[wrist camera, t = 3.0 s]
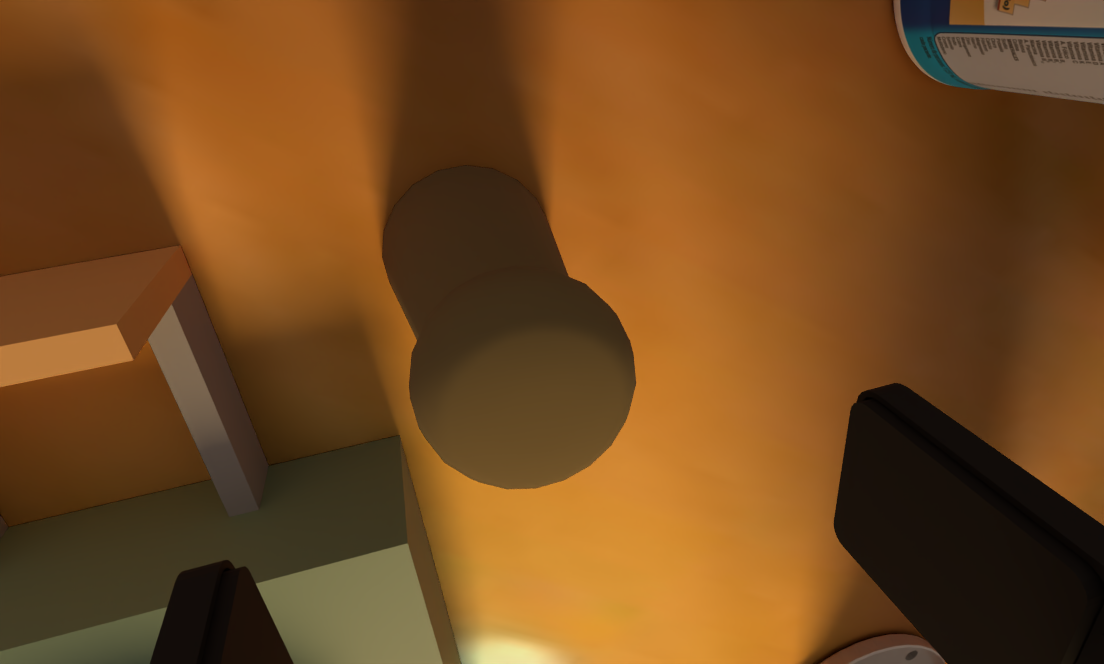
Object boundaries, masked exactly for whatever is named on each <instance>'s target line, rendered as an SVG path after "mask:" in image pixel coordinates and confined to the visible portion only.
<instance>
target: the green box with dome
mask: <svg viewBox="0 0 1104 664" xmlns="http://www.w3.org/2000/svg"><path fill="white" fill-rule="evenodd" d="M147 340H148V341H149V343H150V345H151V348H152V350H153V352H154V354H155V356H156V358H157V361H158V363H159V365H160V367H161V369H162V372H163V374H164V376H165V378H166V380H167V383H168V385H169V387H170V389H171V391H172V393H173V396H174V398H175V400H176V402H177V404H178V407H179V409H180V411H181V413H182V415H183V417H184V420H185V422H186V424H187V426H188V428H189V431H190V433H191V435H192V437H193V439H194V441H195V444H196V446H197V448H198V450H199V452H200V455H201V457H202V459H203V461H204V463H205V465H206V468H207V470H208V472H209V474H210V476H211V479H212V480H207V481H203V482H199V483H195V484H190V485H186V486H182V487H178V488H173V489H169V490H165V491H161V492H156V493H152V494H148V495H144V496H139V497H135V498H131V499H127V500H122V501H118V502H114V503H110V504H105V505H101V506H97V507H93V508H88V509H84V510H80V511H76V512H71V513H67V514H63V515H59V516H55V517H50V518H46V519H42V520H38V521H33V522H29V523H25V524H21V525H16V526H12V527H8V526H7V524H6V523H5V521H4V520H3V518H2V517H1V515H0V664H150V661H151V658H152V654H153V651H154V648H155V645H156V642H157V638H158V635H159V632H160V629H161V625H162V622H163V619H164V616H165V613H166V609H167V606H168V603H169V600H170V596H171V593H172V590H173V587H174V584H175V581H176V579H177V576H178V575H179V574H180V573H181V572H182V571H185V570H189V569H193V568H197V567H200V566H204V565H208V564H212V563H215V562H219V561H223V560H229V561H230V562H231V563H232V564H233V566H234V567H235V569H236V568H239V567H244V566H245V567H247V568H248V569H249V571H250V573H251V575H252V577H253V579H254V581H255V583H256V585H257V587H258V590H259V592H260V594H261V596H262V598H263V600H264V602H265V604H266V606H267V608H268V611H269V613H270V615H271V617H272V619H273V621H274V623H275V625H276V627H277V629H278V632H279V634H280V636H281V638H282V640H283V642H284V644H285V646H286V648H287V650H288V652H289V655H290V657H291V659H292V661H293V663H294V664H461V661H460V657H459V653H458V649H457V646H456V642H455V638H454V635H453V631H452V627H451V624H450V620H449V616H448V612H447V609H446V605H445V601H444V598H443V594H442V590H441V587H440V583H439V579H438V576H437V572H436V568H435V564H434V561H433V557H432V553H431V550H430V546H429V542H428V539H427V535H426V531H425V527H424V524H423V520H422V516H421V513H420V509H419V505H418V502H417V498H416V494H415V491H414V487H413V483H412V479H411V476H410V472H409V468H408V465H407V461H406V457H405V454H404V450H403V446H402V442H401V439H400V435H398V436H394V437H390V438H386V439H381V440H377V441H373V442H369V443H364V444H360V445H356V446H352V447H347V448H343V449H339V450H335V451H330V452H326V453H322V454H318V455H313V456H309V457H305V458H301V459H297V460H292V461H288V462H284V463H280V464H275V465H271V466H268V463H267V461H266V458H265V456H264V453H263V451H262V448H261V446H260V443H259V441H258V438H257V435H256V433H255V430H254V428H253V425H252V423H251V420H250V418H249V415H248V413H247V410H246V408H245V405H244V403H243V400H242V398H241V395H240V393H239V390H238V388H237V385H236V383H235V380H234V378H233V375H232V373H231V370H230V368H229V365H228V363H227V360H226V358H225V355H224V353H223V350H222V348H221V345H220V343H219V340H218V338H217V335H216V333H215V330H214V328H213V325H212V323H211V320H210V318H209V315H208V313H207V310H206V308H205V305H204V303H203V300H202V298H201V295H200V293H199V290H198V288H197V285H196V283H195V280H194V278H193V275H192V273H191V270H190V268H189V265H188V263H187V260H186V258H185V255H184V253H183V250H182V248H181V245H178V246H173V247H167V248H161V249H155V250H150V251H144V252H138V253H133V254H127V255H121V256H115V257H110V258H104V259H98V260H92V261H87V262H81V263H75V264H69V265H64V266H58V267H52V268H47V269H41V270H35V271H29V272H24V273H18V274H12V275H6V276H1V277H0V387H4V386H9V385H14V384H18V383H23V382H28V381H33V380H38V379H43V378H48V377H53V376H58V375H63V374H68V373H73V372H78V371H83V370H88V369H93V368H98V367H103V366H108V365H113V364H118V363H123V362H128V361H133V360H134V359H135V358H136V356H137V355H138V353H139V352H140V350H141V349H142V347H143V346H144V344H145V343H146V341H147Z"/></svg>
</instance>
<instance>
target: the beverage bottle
mask: <svg viewBox="0 0 1104 664" xmlns="http://www.w3.org/2000/svg"><path fill="white" fill-rule="evenodd" d="M893 3H894V15H895V21H896V26H897V30H898V34H899V37H900V40H901V42H902V44H903V47H904V49H905V50H906V52H907V54H908V56H909V57H910V59H911V60H912V61H913V63H914V64H915V65H916V66H917V67H918V68H919V69H920V70H921V71H922V72H923V73H925V74H926V75H927V76H929V77H931V78H932V79H934V80H936V81H938V82H941V83H943V84H946V85H950V86H955V87H962V88H971V89H994V90H999V91H1007V92H1015V93H1023V94H1031V95H1039V96H1047V97H1054V98H1062V99H1070V100H1077V101H1085V102H1092V103H1100V104H1104V0H893Z"/></svg>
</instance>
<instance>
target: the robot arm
mask: <svg viewBox="0 0 1104 664" xmlns="http://www.w3.org/2000/svg"><path fill="white" fill-rule="evenodd" d="M834 529H835V533H836V535H837V538H838V539H839V541H840V543H841V544H842V545H843V547H844V548H845V549H846V550H847V551H848V552H849V553H850V555H851V556H852V557H853V558H854V559H855V560H856V561H857V562H858V564H859V565H860V566H861V567H862V568H863V569H864V570H865V571H866V573H867V574H868V575H869V576H870V577H871V578H872V579H873V580H874V582H875V583H876V584H877V585H878V586H879V587H880V588H881V589H882V591H883V592H884V593H885V594H886V595H887V596H888V597H889V598H890V600H891V601H892V602H893V603H894V604H895V605H896V606H897V607H898V609H899V610H900V611H901V612H902V613H903V614H904V615H905V616H906V618H907V619H908V620H909V621H910V622H911V623H912V624H913V625H914V627H915V628H916V629H917V630H918V631H919V632H920V633H921V634H922V636H923V637H924V638H925V639H926V640H927V641H926V640H924V639H922V638H920V637H918V636H913V635H907V634H888V635H883V636H878V637H873V638H870V639H867V640H864V641H861V642H858V643H855V644H853V645H851V646H849V647H847V648H845V649H843V650H840V651H839V652H837V653H835V654H834V655H832V656H830V657H829V658H827V659H825V660H824V661H822V662H821V663H820V664H945V661H946V663H947V664H1104V526H1103V525H1102V524H1101V523H1099V522H1098V521H1096V520H1095V519H1093V518H1092V517H1091V516H1089V515H1088V514H1086V513H1085V512H1084V511H1082V510H1081V509H1079V508H1078V507H1076V506H1075V505H1074V504H1072V503H1071V502H1069V501H1068V500H1067V499H1065V498H1064V497H1062V496H1061V495H1059V494H1058V493H1057V492H1055V491H1054V490H1052V489H1051V488H1050V487H1048V486H1047V485H1045V484H1044V483H1042V482H1041V481H1040V480H1038V479H1037V478H1035V477H1034V476H1033V475H1031V474H1030V473H1028V472H1027V471H1025V470H1024V469H1023V468H1021V467H1020V466H1018V465H1017V464H1015V463H1014V462H1013V461H1011V460H1010V459H1008V458H1007V457H1006V456H1004V455H1003V454H1001V453H1000V452H998V451H997V450H996V449H994V448H993V447H991V446H990V445H989V444H987V443H986V442H984V441H983V440H981V439H980V438H979V437H977V436H976V435H974V434H973V433H972V432H970V431H969V430H967V429H966V428H964V427H963V426H962V425H960V424H959V423H957V422H956V421H955V420H953V419H952V418H950V417H949V416H947V415H946V414H945V413H943V412H942V411H940V410H939V409H937V408H936V407H935V406H933V405H932V404H930V403H929V402H928V401H926V400H925V399H923V398H922V397H920V396H919V395H918V394H916V393H915V392H913V391H912V390H911V389H909V388H908V387H906V386H904V385H902V384H898V383H893V384H890V385H886V386H882V387H878V388H874V389H871V390H867V391H864V392H862V393H861V394H860V395H859V396H858V399H857V403H854V405H853V406H852V408H851V411H850V417H849V424H848V431H847V437H846V444H845V451H844V457H843V464H842V471H841V477H840V484H839V490H838V497H837V504H836V510H835V517H834ZM943 659H944V660H945V661H944V660H943ZM150 664H294V663H293V661H292V659H291V657H290V655H289V652H288V650H287V648H286V646H285V644H284V642H283V640H282V638H281V636H280V634H279V632H278V629H277V627H276V625H275V623H274V621H273V619H272V617H271V615H270V613H269V611H268V608H267V606H266V604H265V602H264V600H263V598H262V596H261V594H260V592H259V590H258V587H257V585H256V583H255V581H254V579H253V577H252V575H251V573H250V571H249V569H248V568H247V567H245V566H244V567H239V568H236V569H235V567H234V566H233V564H232V563H231V562H230V561H229V560H223V561H219V562H215V563H212V564H208V565H204V566H200V567H197V568H193V569H189V570H185V571H182V572H181V573H180V574H179V575H178V576H177V579H176V581H175V584H174V587H173V590H172V593H171V596H170V600H169V603H168V606H167V609H166V613H165V616H164V619H163V622H162V625H161V629H160V632H159V635H158V638H157V642H156V645H155V648H154V651H153V654H152V658H151V661H150Z"/></svg>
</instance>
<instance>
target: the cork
mask: <svg viewBox="0 0 1104 664" xmlns="http://www.w3.org/2000/svg"><path fill="white" fill-rule="evenodd" d="M382 258H383V262H384V265H385V269H386V272H387V276H388V279H389V282H390V284H391V286H392V289H393V291H394V293H395V295H396V297H397V299H398V301H399V303H400V305H401V307H402V309H403V312H404V314H405V316H406V318H407V320H408V322H409V324H410V326H411V328H412V330H413V332H414V335H415V337H416V339H417V343H416V345H415V347H414V349H413V351H412V357H411V368H410V380H409V390H410V399H411V403H412V406H413V409H414V413H415V416H416V420H417V423H418V426H419V429H420V430H421V432H422V433H423V435H424V437H425V438H426V440H427V441H428V442H429V443H430V445H431V446H432V447H433V449H434V450H435V451H436V452H437V454H438V455H439V456H440V458H441V459H442V460H443V461H444V463H446V464H448V465H449V466H451V467H452V468H454V469H456V470H457V471H459V472H460V473H462V474H464V475H465V476H467V477H469V478H470V479H473V480H475V481H478V482H480V483H484V484H488V485H492V486H496V487H500V488H504V489H530V488H539V487H542V486H546V485H549V484H553V483H556V482H560V481H563V480H566V479H567V478H569V477H571V476H573V475H574V474H576V473H578V472H580V471H581V470H583V469H585V468H587V467H588V466H590V465H591V464H592V463H593V462H594V461H595V460H596V459H597V458H598V457H600V456H601V455H602V454H603V453H604V452H605V451H606V450H607V449H608V448H609V447H610V446H611V445H612V443H613V441H614V440H615V438H616V436H617V435H618V433H619V431H620V430H621V428H622V426H623V425H624V423H625V421H626V419H627V416H628V413H629V410H630V406H631V402H632V398H633V394H634V390H635V386H636V377H635V366H634V356H633V351H632V347H631V343H630V340H629V338H628V336H627V334H626V332H625V330H624V328H623V326H622V324H621V322H620V320H619V318H618V316H617V314H616V313H615V312H614V311H613V310H612V309H611V308H610V306H609V305H608V304H607V303H606V302H605V301H603V300H602V299H601V298H600V297H599V296H598V295H597V294H596V293H595V292H594V291H593V290H592V289H590V288H589V287H588V286H587V285H586V284H584V283H582V282H580V281H577V280H575V279H573V278H570V277H569V276H568V273H567V271H566V268H565V266H564V263H563V260H562V258H561V255H560V252H559V250H558V247H557V244H556V242H555V239H554V236H553V234H552V231H551V228H550V226H549V223H548V221H547V219H546V217H545V215H544V213H543V211H542V209H541V207H540V205H539V203H538V201H537V199H536V198H535V197H534V196H533V195H532V194H531V193H530V192H529V191H528V190H527V189H526V188H525V187H524V186H523V185H522V184H521V183H520V182H519V181H518V180H516V179H514V178H512V177H509V176H507V175H505V174H503V173H501V172H499V171H497V170H495V169H491V168H483V167H475V166H466V165H465V166H460V167H455V168H450V169H445V170H440V171H437V172H435V173H433V174H431V175H430V176H428V177H426V178H424V179H423V180H421V181H419V182H417V183H416V184H414V185H412V187H411V188H410V189H409V190H408V191H407V192H406V193H405V194H404V196H403V197H402V198H401V199H400V200H399V201H398V202H397V203H396V204H395V206H394V208H393V210H392V213H391V215H390V217H389V220H388V222H387V224H386V227H385V229H384V236H383V253H382Z"/></svg>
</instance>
